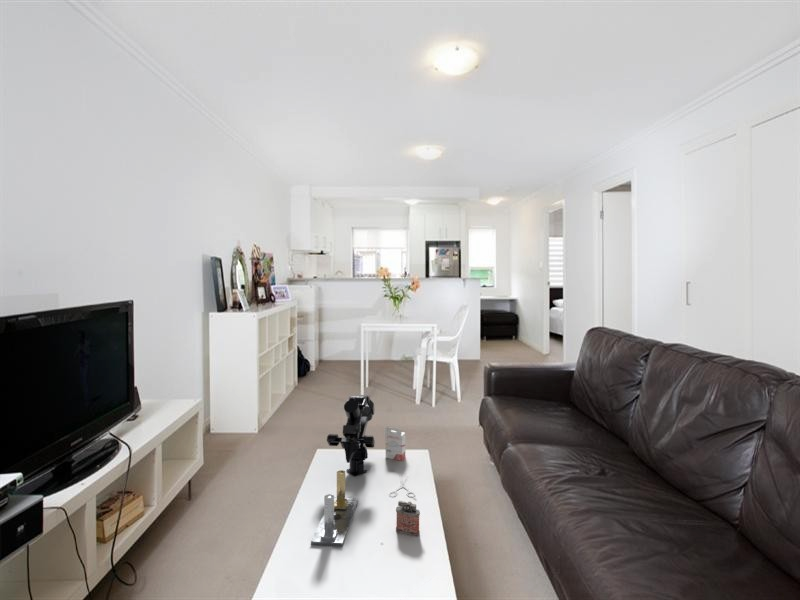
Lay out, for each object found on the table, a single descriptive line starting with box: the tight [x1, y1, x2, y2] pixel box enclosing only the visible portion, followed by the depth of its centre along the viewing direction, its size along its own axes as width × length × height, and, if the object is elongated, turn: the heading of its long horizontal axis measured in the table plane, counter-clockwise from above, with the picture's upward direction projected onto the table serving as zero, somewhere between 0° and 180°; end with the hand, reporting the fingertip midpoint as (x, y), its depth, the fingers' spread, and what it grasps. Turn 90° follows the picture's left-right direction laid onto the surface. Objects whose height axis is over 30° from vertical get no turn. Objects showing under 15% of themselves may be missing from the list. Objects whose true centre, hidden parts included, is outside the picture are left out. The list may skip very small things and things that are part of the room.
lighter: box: [395, 500, 421, 538], centre depth 127 cm, size 8×3×10 cm, turn 71°
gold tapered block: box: [334, 470, 348, 509], centre depth 139 cm, size 4×4×12 cm
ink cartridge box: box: [385, 426, 406, 461], centre depth 182 cm, size 9×5×15 cm, turn 68°
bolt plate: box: [310, 493, 359, 548], centre depth 133 cm, size 25×10×14 cm, turn 175°
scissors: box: [388, 474, 417, 501], centre depth 157 cm, size 11×1×20 cm
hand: (347, 462), depth 150 cm, fingers closed
